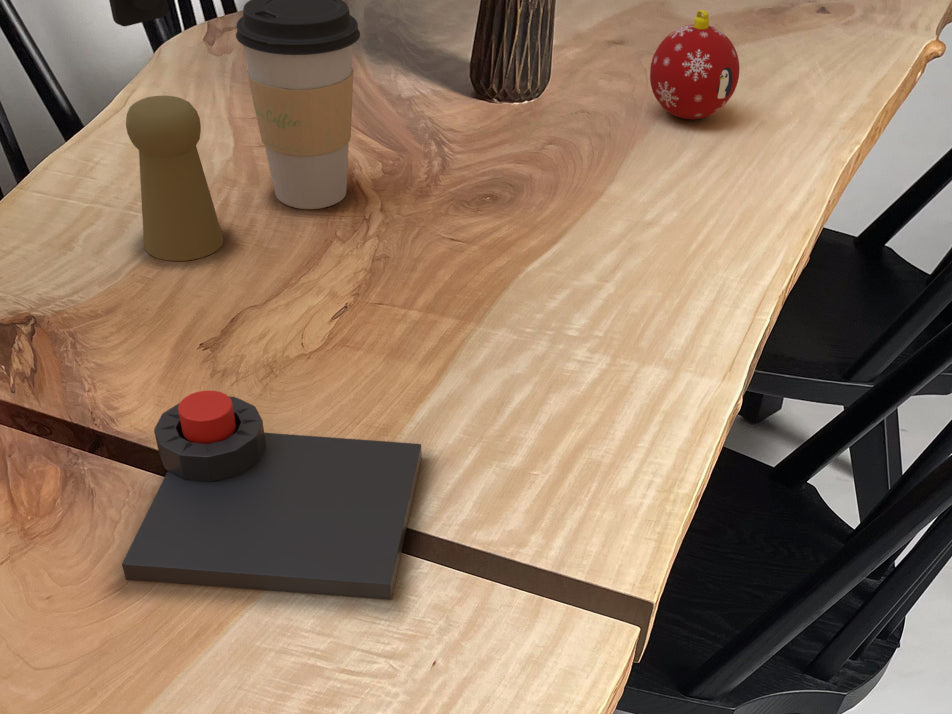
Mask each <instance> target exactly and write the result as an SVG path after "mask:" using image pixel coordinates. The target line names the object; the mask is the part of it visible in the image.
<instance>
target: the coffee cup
mask: <svg viewBox="0 0 952 714" xmlns="http://www.w3.org/2000/svg"><path fill="white" fill-rule="evenodd" d="M235 27H236V33H235V39H236V40H237V42H238V43H239V44H241V45H242V46H243V51H244V56H245V61H246V65H247V72H246V73H247V79H248V84H249V89H250V93H251V98H252V102H253V107H254V112H255V116H256V120H257V121H256V122H257V125H258V129H259V135H260V139H261V142H262V144H263V146H264V149H265V153H266V158H267V162H268V166H269V172H270V176H271V181H272V185H273V190H274V194H275V195H274V196H275V197H276V198H277V200H278V201H279V202H280V203H282V204H284V205H285V206H288V207H291V208H295V209H299V210H300V209H301V210H318V209H324V208H327V207H332V206H333V205H337V204H338V203H340V202H341V201H342V200H344V198H345V197H346V195H347V187H348V168H349V167H348V165H349V147H350V146H349V144H350V141H351V137H352V117H353V116H352V115H353V96H354V95H353V93H354V69H353V46H354V45H353V44H355V43H356V42H357V41H359V39H360V38H361V32H360V30H359V22H358V20H357V19H356V18H355V17H354V16H352V14H350V9H349V6H348V4H347V3H346V1H344V0H248V1H247V2H246V3H245V4H244V5H243V9H242V16H241V17H240V18H239V19H238V21H237V22H236V26H235Z"/></svg>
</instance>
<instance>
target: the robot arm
mask: <svg viewBox="0 0 952 714" xmlns="http://www.w3.org/2000/svg"><path fill="white" fill-rule="evenodd" d="M108 2H109V7H110V10H111V11H110V12H111V16H112V20H113V22H114V23H115V24H116V25H119V26H121V27H129V26H133V25H137V24H142V23H145V22H149V21H154V20H158V19H162V18H165V17H166V16H168V14H169V4H168V0H108Z"/></svg>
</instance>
